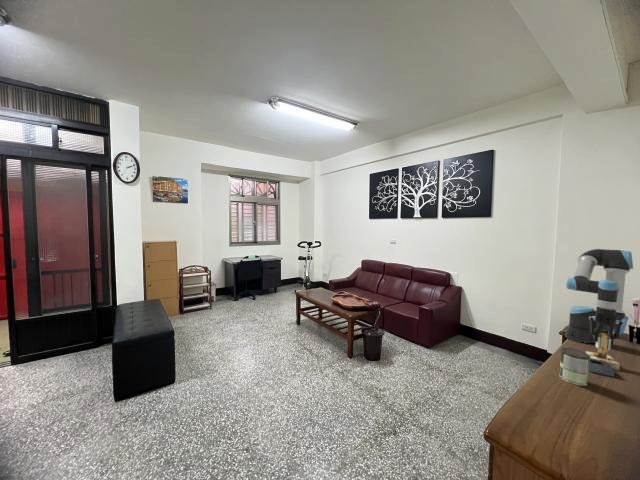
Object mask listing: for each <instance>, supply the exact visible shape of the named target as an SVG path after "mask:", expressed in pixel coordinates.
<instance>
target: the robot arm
mask: <svg viewBox="0 0 640 480" xmlns="http://www.w3.org/2000/svg"><path fill="white" fill-rule="evenodd" d="M577 263H578V264H577V267H576V269H575V272H574V275H573V277H568V278H566V285H565V286H566V289H568V290H572V291H576V292H577V291H579V292H584V293H589V294H590V293H591V294H597V298H596V299H597V300H596V306H597V307H596V308H594V307H592V306H591V307H590V306H583V305H582V306H581V305H574V306H571V307H570V310H569V321H568V323H569V324H568V327H567V329H566V330H565V333H564V337H565V338H567V339H569V340H570V341H574V342H576V341H579V342H578V343H580V342H585V343H584V344H586V343H595V347H596V348H597V349H598V348H600V337H599V334H600V333H601V332H602V331H605V332H606V331H607V333H608V334H607V335H609V337H608V349H607V351H611V346H612V345H613V344H614V341H615V340H617V339H619V338H620V334H623V333H625V331H626V328H627V324H628V322H629V321H628V320H629V316H627V315H626V312H625V311H624V310H623V304H624V293H625V285H626V283H625V282H626V274H627V273H630V270H633V269H634V263H633V255H632V252H631V251H630V250H624V249H623V250H621V249H602V248H596V249H595V248H594V249H590V250H587V251H586V252H583V253H582V254H581V255H579V257H578V259H577ZM596 266H597V267H603V270H604V271H605V279H601V280H592V279H591V278H592V276H593V275H592V274H593V272H594V268H595V267H596ZM595 309H596V310H595ZM601 330H602V331H601Z"/></svg>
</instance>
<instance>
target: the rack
mask: <svg viewBox="0 0 640 480" xmlns="http://www.w3.org/2000/svg"><path fill="white" fill-rule="evenodd" d="M585 353H587V354H588V355H589V356H590V358H592V359H597V360H602V361H606V362H607V363H608V364H609V365H610V366H611V367H612V368H613V369H614V371H620V365H621V364H620V363H619V362H618V361H616V360H615V359H614V358H613V357H612V356H611V355H608V354H607V358H601V357H598V356H597V355H598V352H594V351H593V352H592V351H589V350H585Z"/></svg>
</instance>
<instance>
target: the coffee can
mask: <svg viewBox="0 0 640 480" xmlns="http://www.w3.org/2000/svg"><path fill="white" fill-rule="evenodd" d="M589 358H590V356H589V355H588V354H587V353H586V351H585V352H584V351H582V350H580V349H575V348H572V347H571V348H570V347H561V348H560V362H559V363H560V364H559V365H560V366H559V375H558V376H559V377H561V378H560V379H561V380H563V381H565V382H567V383H569V384H573V385H576V386H583V387H586V386H588V378H589V371H588V368H589Z"/></svg>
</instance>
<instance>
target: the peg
mask: <svg viewBox="0 0 640 480" xmlns="http://www.w3.org/2000/svg"><path fill="white" fill-rule="evenodd" d="M599 337H600V348H597V353H598V355H597V356H598V357H601V358H607V355H608V350H607V349H608V337H609V334H607V333H601V332H600V334H599Z"/></svg>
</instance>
